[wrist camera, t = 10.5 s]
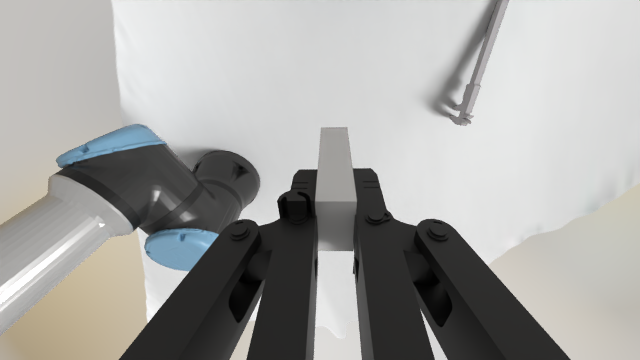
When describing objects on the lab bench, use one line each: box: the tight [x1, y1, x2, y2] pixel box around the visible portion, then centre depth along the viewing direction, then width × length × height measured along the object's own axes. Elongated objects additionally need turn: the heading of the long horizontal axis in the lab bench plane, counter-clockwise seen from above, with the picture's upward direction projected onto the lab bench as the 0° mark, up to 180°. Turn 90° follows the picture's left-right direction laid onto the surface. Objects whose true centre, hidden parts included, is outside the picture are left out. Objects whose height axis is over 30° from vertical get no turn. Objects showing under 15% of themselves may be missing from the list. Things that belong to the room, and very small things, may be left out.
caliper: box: [450, 0, 509, 126], centre depth 40 cm, size 20×1×6 cm, turn 175°
